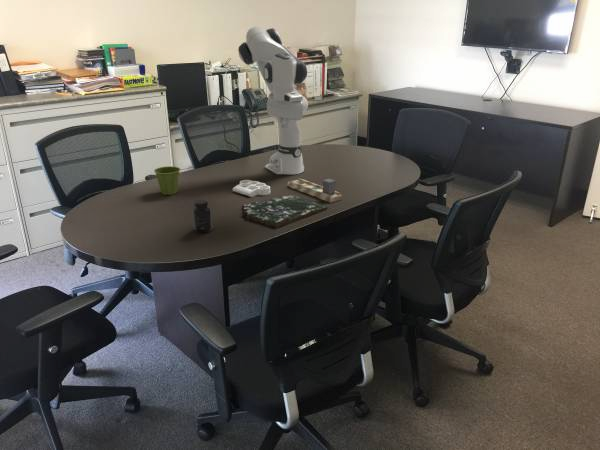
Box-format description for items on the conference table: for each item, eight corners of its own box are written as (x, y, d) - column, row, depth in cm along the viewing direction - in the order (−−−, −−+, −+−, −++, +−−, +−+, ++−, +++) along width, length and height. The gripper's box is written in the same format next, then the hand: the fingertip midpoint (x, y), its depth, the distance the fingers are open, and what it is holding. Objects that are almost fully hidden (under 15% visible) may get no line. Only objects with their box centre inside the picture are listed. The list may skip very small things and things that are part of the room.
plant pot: (187, 190, 241) (185, 168, 237) (171, 198, 231) (169, 174, 227) (167, 187, 246) (165, 164, 241) (151, 194, 236) (148, 171, 231)
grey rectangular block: (322, 192, 233) (322, 180, 230) (328, 190, 235) (329, 178, 233) (328, 195, 230) (329, 182, 228) (334, 193, 232) (335, 180, 230)
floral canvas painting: (327, 210, 221) (327, 203, 220) (271, 231, 200) (270, 224, 199) (286, 195, 238) (286, 189, 237) (230, 213, 217) (230, 206, 215)
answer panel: (287, 186, 249) (287, 180, 247) (298, 183, 253) (298, 177, 252) (330, 202, 228) (331, 196, 227) (341, 199, 232) (342, 193, 231)
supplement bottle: (195, 226, 202) (193, 198, 197) (212, 226, 202) (210, 198, 198) (193, 234, 195) (191, 204, 191) (211, 233, 196) (209, 204, 191)
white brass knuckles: (228, 191, 242) (250, 184, 252) (254, 200, 231) (276, 192, 242) (227, 184, 241) (250, 177, 251) (254, 193, 230) (276, 185, 240)
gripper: (262, 92, 217) (263, 125, 222) (293, 98, 203) (294, 132, 208) (274, 91, 221) (275, 123, 226) (305, 96, 206) (305, 130, 212)
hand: (284, 127), depth 217 cm, fingers closed
